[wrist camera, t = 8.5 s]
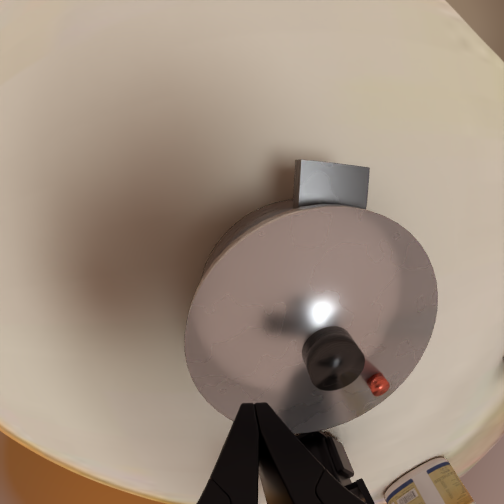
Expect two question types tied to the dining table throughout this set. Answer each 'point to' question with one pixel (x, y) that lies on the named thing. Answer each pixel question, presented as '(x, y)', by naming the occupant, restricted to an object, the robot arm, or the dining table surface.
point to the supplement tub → (429, 486)
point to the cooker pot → (307, 195)
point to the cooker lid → (312, 316)
